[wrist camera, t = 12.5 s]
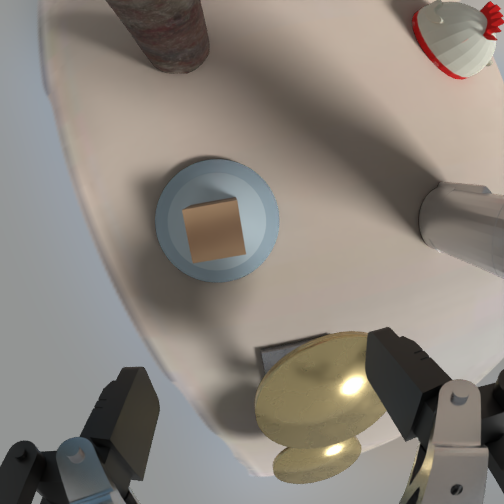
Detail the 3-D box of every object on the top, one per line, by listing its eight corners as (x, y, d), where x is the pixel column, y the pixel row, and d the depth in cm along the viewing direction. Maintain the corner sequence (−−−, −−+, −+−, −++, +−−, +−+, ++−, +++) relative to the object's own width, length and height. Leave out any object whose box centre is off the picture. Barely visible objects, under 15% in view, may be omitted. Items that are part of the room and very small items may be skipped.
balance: (235, 280, 34) (241, 360, 18) (338, 261, 35) (410, 318, 19) (270, 444, 43) (283, 518, 27) (339, 428, 43) (368, 496, 27)
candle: (141, 73, 27) (65, -14, 8) (159, 27, 26) (112, -74, 6) (201, 79, 28) (172, -28, 9) (216, 31, 27) (210, -83, 7)
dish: (189, 140, 30) (187, 138, 29) (298, 194, 32) (300, 194, 31) (140, 249, 33) (137, 251, 31) (244, 296, 35) (245, 301, 34)
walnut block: (190, 204, 31) (182, 210, 25) (235, 196, 31) (237, 200, 25) (199, 248, 32) (192, 263, 26) (243, 241, 32) (246, 254, 26)
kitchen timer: (470, 40, 27) (522, 20, 13) (470, 94, 30) (534, 81, 16) (412, -3, 25) (461, -39, 11) (409, 49, 28) (472, 13, 14)
